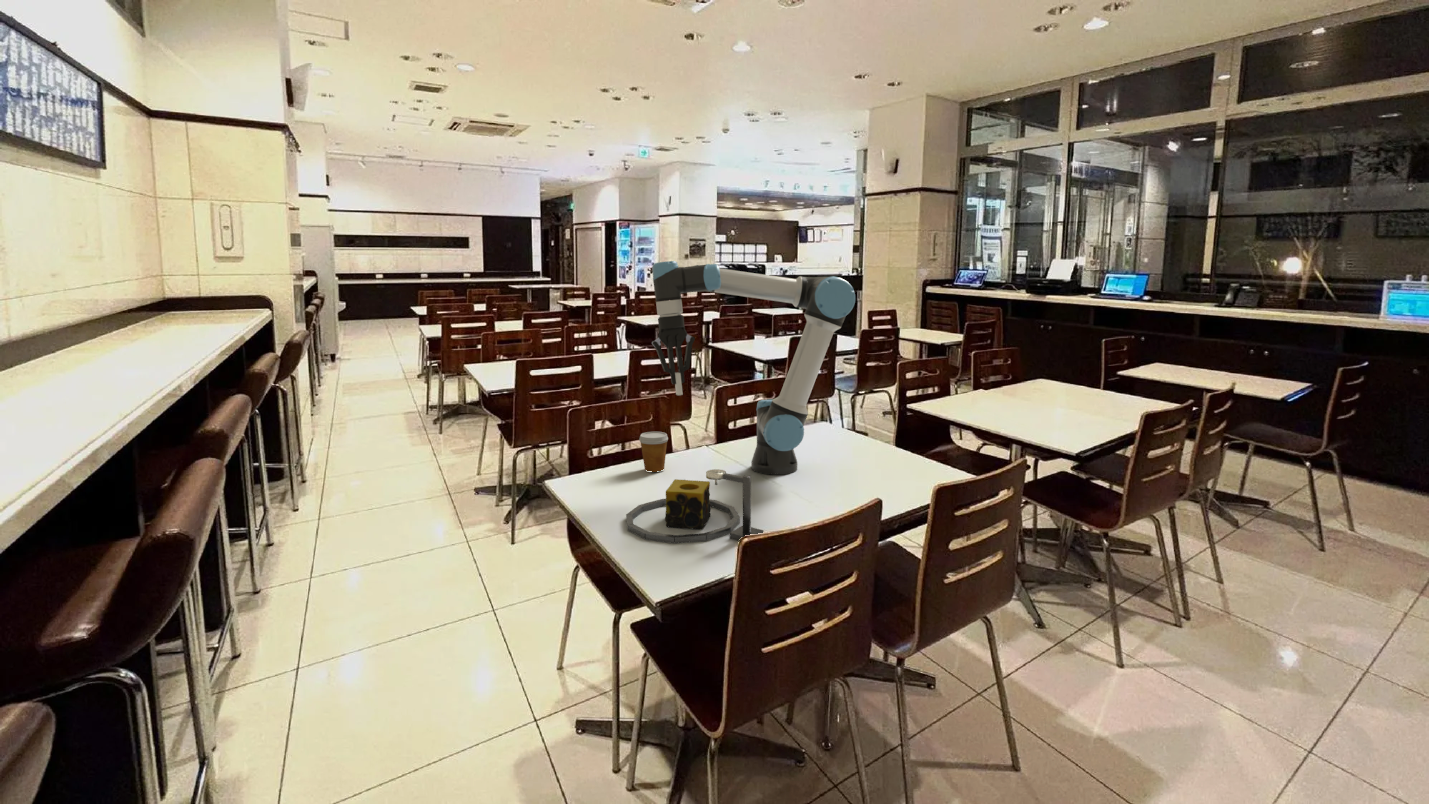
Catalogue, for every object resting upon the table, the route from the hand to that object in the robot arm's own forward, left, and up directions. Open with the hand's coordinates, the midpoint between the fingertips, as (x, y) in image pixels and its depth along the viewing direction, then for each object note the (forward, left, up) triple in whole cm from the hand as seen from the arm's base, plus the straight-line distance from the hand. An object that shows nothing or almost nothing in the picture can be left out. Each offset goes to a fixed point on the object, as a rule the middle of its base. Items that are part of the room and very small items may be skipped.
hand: (679, 394), depth 205 cm
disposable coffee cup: (+7, -17, -28) cm, 34 cm away
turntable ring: (+4, +31, -28) cm, 42 cm away
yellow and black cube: (+2, +32, -28) cm, 42 cm away
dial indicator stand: (-7, +42, -28) cm, 51 cm away
